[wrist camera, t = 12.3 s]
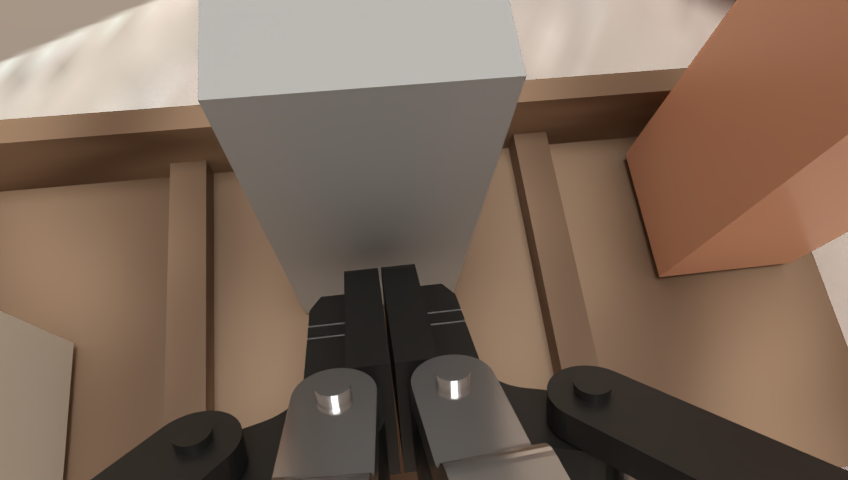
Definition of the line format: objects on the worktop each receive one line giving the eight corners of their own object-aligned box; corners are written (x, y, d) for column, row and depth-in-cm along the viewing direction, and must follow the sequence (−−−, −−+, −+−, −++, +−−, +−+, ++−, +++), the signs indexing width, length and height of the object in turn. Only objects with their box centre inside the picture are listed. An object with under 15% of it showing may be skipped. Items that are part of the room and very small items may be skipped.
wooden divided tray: (-119, 599, 15) (-284, 637, 12) (-52, 199, 19) (-159, 131, 15) (850, 461, 18) (973, 456, 14) (733, 131, 22) (805, 59, 18)
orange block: (659, 277, 17) (965, 46, 8) (625, 154, 19) (852, -161, 10) (790, 262, 18) (1225, 26, 9) (747, 143, 19) (1079, -171, 10)
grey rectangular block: (305, 313, 17) (198, 100, 7) (298, 181, 18) (200, -138, 9) (451, 297, 17) (526, 75, 8) (432, 169, 18) (476, -149, 9)
